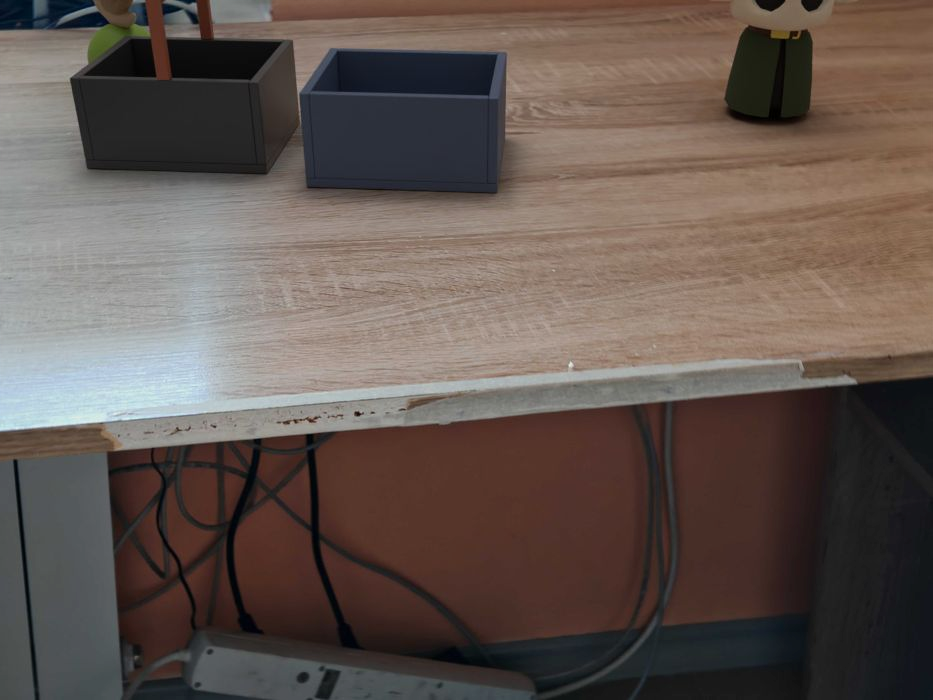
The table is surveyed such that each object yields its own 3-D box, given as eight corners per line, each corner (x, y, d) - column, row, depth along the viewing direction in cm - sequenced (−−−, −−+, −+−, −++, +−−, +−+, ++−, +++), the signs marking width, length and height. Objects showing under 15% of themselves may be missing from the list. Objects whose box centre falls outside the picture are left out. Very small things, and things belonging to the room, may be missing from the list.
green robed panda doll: (697, 126, 78) (719, -65, 71) (686, 95, 84) (704, -84, 77) (851, 129, 77) (888, -64, 70) (829, 97, 83) (860, -82, 76)
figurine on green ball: (135, 76, 88) (110, -81, 82) (180, 92, 84) (156, -70, 78) (74, 90, 85) (43, -71, 79) (117, 109, 81) (88, -60, 75)
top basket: (86, 168, 71) (51, -15, 65) (138, 118, 79) (111, -48, 73) (267, 173, 70) (248, -11, 64) (300, 122, 78) (286, -45, 72)
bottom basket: (306, 187, 68) (298, 93, 65) (335, 132, 76) (330, 47, 73) (497, 193, 67) (498, 98, 64) (505, 137, 76) (506, 51, 73)
